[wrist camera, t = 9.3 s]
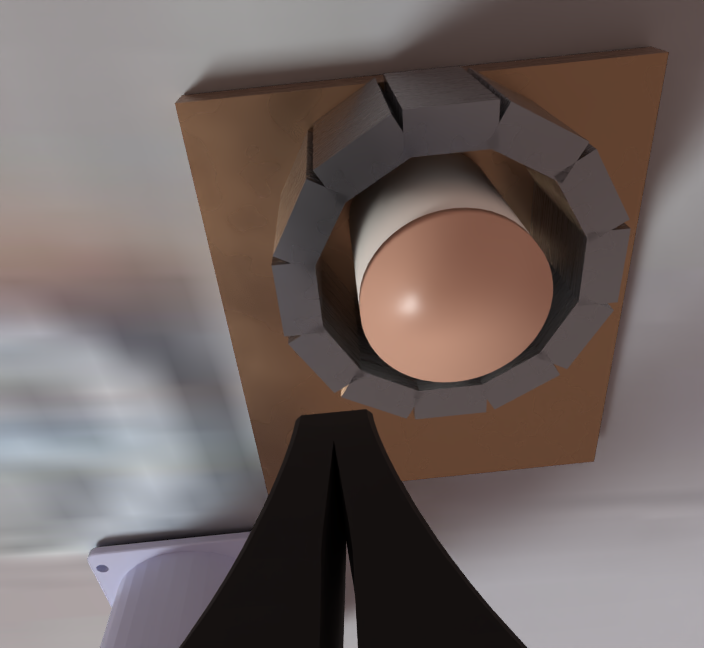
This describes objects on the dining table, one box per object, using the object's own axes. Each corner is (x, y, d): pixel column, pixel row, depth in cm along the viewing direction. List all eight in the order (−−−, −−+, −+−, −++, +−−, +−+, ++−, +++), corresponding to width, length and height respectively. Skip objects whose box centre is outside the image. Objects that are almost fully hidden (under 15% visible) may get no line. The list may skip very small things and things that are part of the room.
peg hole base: (584, 443, 25) (640, 547, 20) (269, 475, 25) (260, 586, 20) (651, 38, 16) (768, 71, 12) (180, 87, 16) (134, 137, 12)
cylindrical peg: (493, 277, 19) (544, 372, 15) (355, 291, 19) (367, 391, 15) (499, 138, 17) (562, 204, 12) (341, 154, 17) (351, 226, 12)
